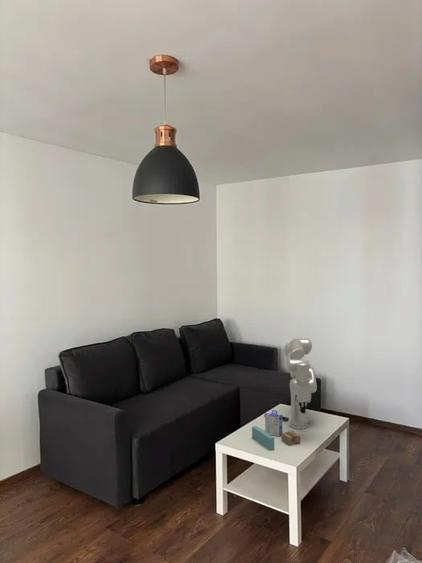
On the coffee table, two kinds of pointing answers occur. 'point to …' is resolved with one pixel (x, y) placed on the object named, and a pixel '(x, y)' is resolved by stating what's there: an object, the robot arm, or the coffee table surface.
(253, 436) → the teal plank
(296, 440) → the walnut block
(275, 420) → the ink cartridge box
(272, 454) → the coffee table surface
